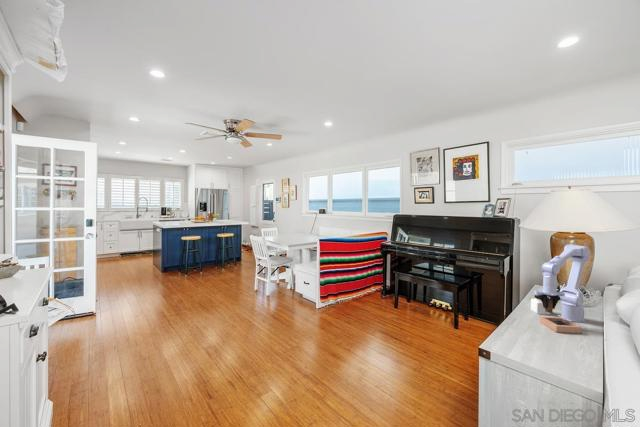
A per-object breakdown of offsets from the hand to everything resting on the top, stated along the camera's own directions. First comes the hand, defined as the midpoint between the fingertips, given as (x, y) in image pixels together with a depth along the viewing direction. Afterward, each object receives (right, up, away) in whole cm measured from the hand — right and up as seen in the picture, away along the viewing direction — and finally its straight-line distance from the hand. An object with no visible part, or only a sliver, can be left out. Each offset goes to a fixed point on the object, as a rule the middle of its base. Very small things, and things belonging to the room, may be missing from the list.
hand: (548, 308), depth 150 cm
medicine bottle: (+9, -9, +17) cm, 21 cm away
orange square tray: (+2, -9, -5) cm, 11 cm away
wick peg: (0, -2, 0) cm, 2 cm away
